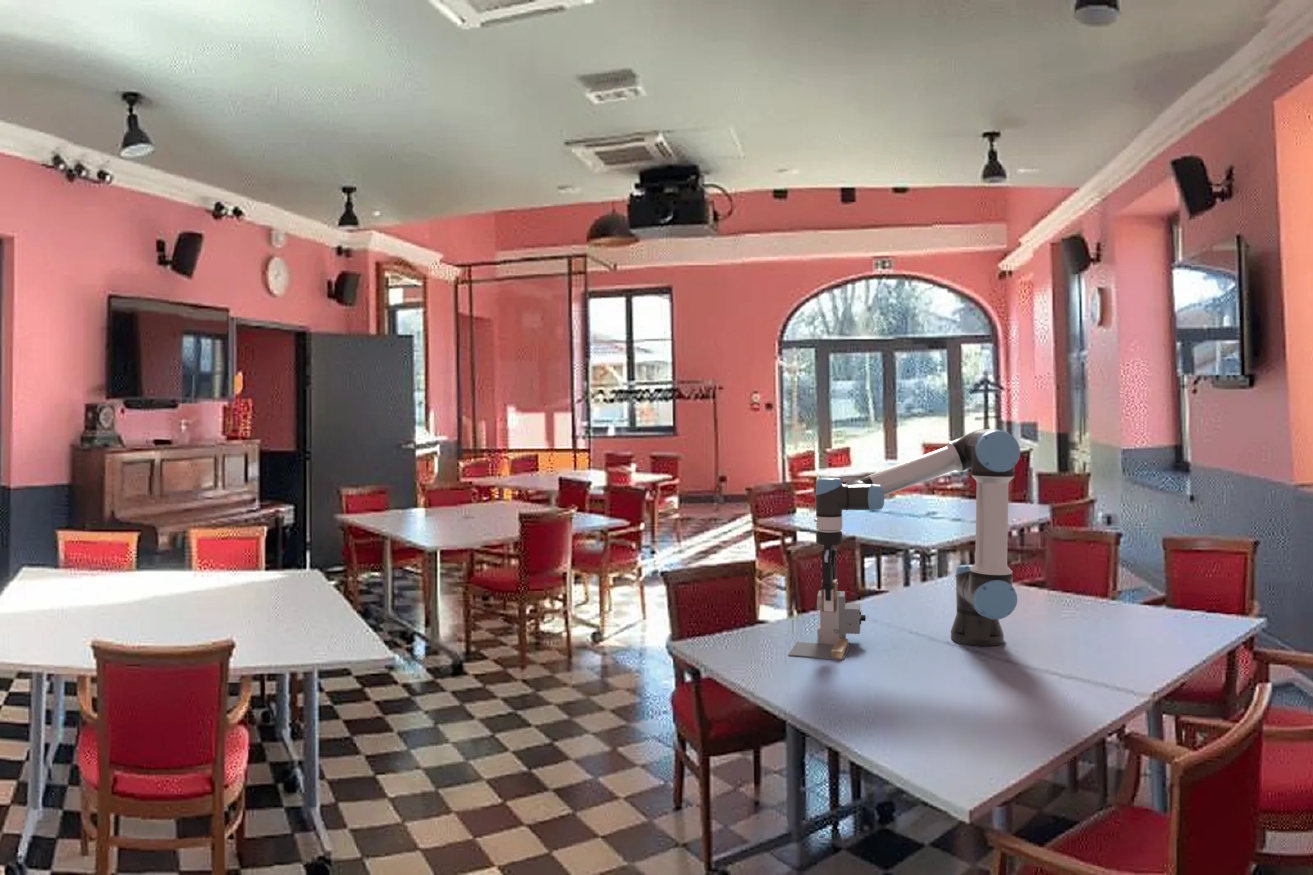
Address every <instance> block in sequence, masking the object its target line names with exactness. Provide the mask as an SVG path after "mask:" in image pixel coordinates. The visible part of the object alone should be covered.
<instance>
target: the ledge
mask: <svg viewBox="0 0 1313 875" xmlns="http://www.w3.org/2000/svg"><path fill="white" fill-rule="evenodd" d="M848 646H849V638H846V639H841V638H838V639H837V641H836V643H835V645H834V647H833V648H832V650H831V658H840V659H842V657H843V655H844V653H845V651H846V649H847V647H848Z"/></svg>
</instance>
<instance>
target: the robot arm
mask: <svg viewBox="0 0 1313 875" xmlns="http://www.w3.org/2000/svg"><path fill="white" fill-rule="evenodd" d="M1020 456H1021V447H1020V444H1019V443H1018V441H1017V439H1016V438H1015V437H1014V435H1012V434H1011V433H1009V432H1007V431H1005V430H1002V429H996V428H993V429H991V428H990V429H987V428H980V429H976V430H974V431H971V432H969V433H967V434H965V435H963V436H961V437H958V438H956V439H954V440H951V441H948V442H947V444H946V446H944V447H942V448H939V449H936V450H934V451H930V452H927V453H925V454H923V455H921V456H917V457H915V458H913V459H910V460H907V461H903V462H901V463H899V464H895V465H893V466H891V467H888V468H885V469H882V470H880V471H876V472H875V473H871V474H869V475H867V476H863V477H860V478H859V479H852V480H849V481H847V482H846V483H845V484H844V483H843V480H842V479H841V478H840V477H820V478H818V479H817V480H816V482H815V513H816V514H815V518H814V520H813V521H814V523H816V524H815V525H816V530H817V531H815V532H816V533H815V538H816V539H815V540H816V544H818V545H820V546H823V550H821V565H822V566H821V568H822V570H821V571H822V574H821V575H822V580H823V585H822V587H821V586H820V589H824V611H828V612H834V598H833V579H837V580H838V578H837V574H838V573H837V572H838V571H837V561H838V559H837V556H838V550H837V548H836V546H838V545H842V543H843V532H842V531H841V530H843V511H872V512H873V511H879V510H882V509H883V508H884V506H885V496H887V495H890V494H893V493H896V492H899V491H902V490H904V489H906V488H910V487H912V486H916V485H917V484H920V483H923V482H926V481H929V480H931V479H934V478H938V477H940V476H943V475H945V474H948V473H952V472H954V471H958V472H959V473H960V472H963V471H966V470H970V471H971V472H970V475H971V477H972V478H973V479H974V480H975V482H976V497H975V499H976V500H975V501H976V502H975V506H976V507H975V550H974V551H975V554H974V555H975V556H974V557H975V558H974V559H975V561H974V564H960V565H958V566H957V567H956V569H955V570H956V572H955V575H954V576H955V588H956V589H955V590H956V592H955V594H956V597H955V598H956V615H955V616H954V620H953V624H952V626H951V629H950V639H951V640H952V641H954V642H956V643H959V644H963V645H968V646H978V647H990V646H998V645H1001V644H1003V643H1004V641H1005V640H1004V639H1005V637H1004V635H1005V634H1004V632H1003V629H1002V625H1001V623H1000V620H1002V619H1005V618H1007V617H1009V615H1011V614H1012V613H1014V611H1015V610H1016V607H1017V605H1018V595H1017V594H1018V593H1017V592H1016V589H1015V587H1014V586H1013V576H1014V574H1013V572H1014V571H1013V570H1012V569H1011V568H1010V567H1009V566H1008V540H1009V539H1008V533H1009V528H1008V527H1009V483H1010V482H1011V481H1012V480H1013V479H1014V478H1015V473H1016V472H1015V468H1016V465H1017V464H1018V462H1019V461H1020ZM822 580H821V581H822ZM837 586H839V582H837Z"/></svg>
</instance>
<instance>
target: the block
mask: <svg viewBox="0 0 1313 875" xmlns="http://www.w3.org/2000/svg"><path fill="white" fill-rule="evenodd" d="M837 583H838V578H837V579H833V598H834V612H836V611H837V591H838V585H837ZM822 585H823V580H821V586H820V589H821V587H822ZM820 591H821V611H822V612H828V611H824V589H821V590H820Z"/></svg>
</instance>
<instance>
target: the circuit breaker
mask: <svg viewBox="0 0 1313 875" xmlns="http://www.w3.org/2000/svg"><path fill="white" fill-rule="evenodd" d="M816 610H817V611H819V619H820V620H819V623H818V627H817V629H816V630H817V643H820V644H834V645H835V643H836V641H837V639H838V638H841V639H847V634H852V635H853V634H854V635H860V634H861V625H862V622H866V618H867V617H866V614H862V611H861V604H860V603H850V602H849V603H848V602H847V603H846V590H845V591H844V590H842V591H841V590H837V611H836V612H822V611H821V590H818V593H817V599H816Z"/></svg>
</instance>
